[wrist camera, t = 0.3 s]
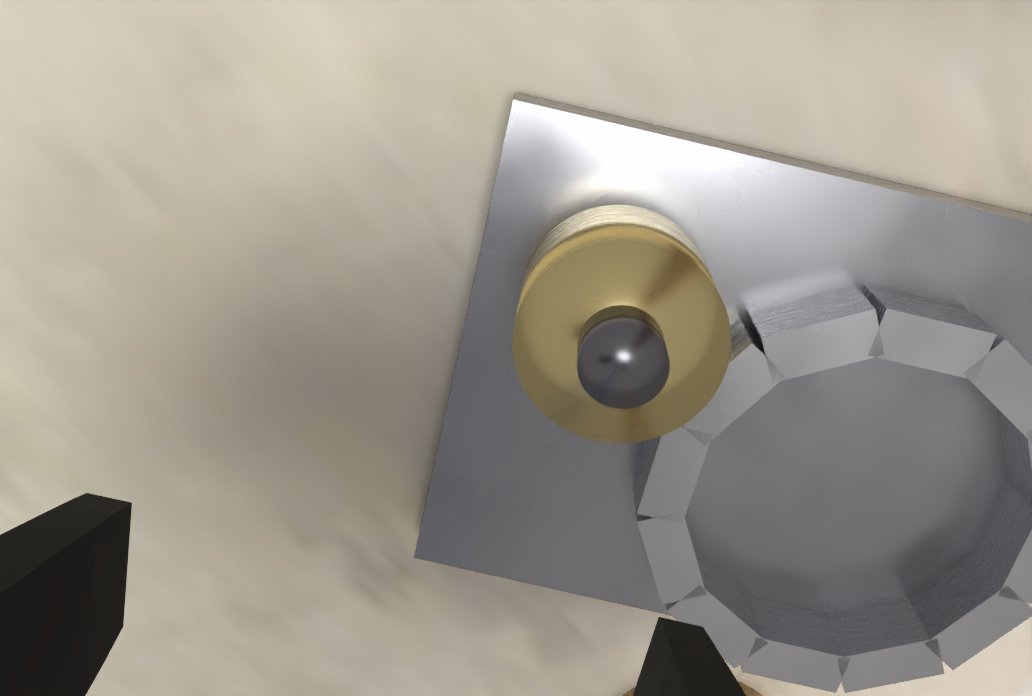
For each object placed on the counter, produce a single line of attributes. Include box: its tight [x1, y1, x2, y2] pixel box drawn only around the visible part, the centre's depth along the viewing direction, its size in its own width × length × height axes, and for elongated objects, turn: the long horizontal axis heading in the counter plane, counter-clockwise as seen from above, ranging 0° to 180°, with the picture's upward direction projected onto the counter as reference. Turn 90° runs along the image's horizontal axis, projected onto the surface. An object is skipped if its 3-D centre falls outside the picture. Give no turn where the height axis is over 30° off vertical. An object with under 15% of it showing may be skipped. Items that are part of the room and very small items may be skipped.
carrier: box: [414, 93, 1032, 693], centre depth 19 cm, size 11×14×5 cm
